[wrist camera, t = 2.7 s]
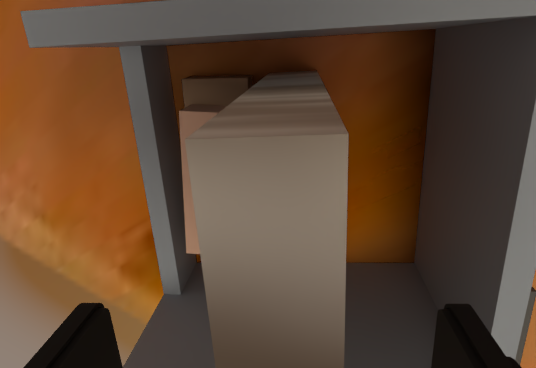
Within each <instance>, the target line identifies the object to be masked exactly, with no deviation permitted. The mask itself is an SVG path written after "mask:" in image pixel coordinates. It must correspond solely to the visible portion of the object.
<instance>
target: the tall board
mask: <svg viewBox="0 0 536 368" xmlns="http://www.w3.org/2000/svg"><path fill="white" fill-rule="evenodd" d="M348 137H349V134H348V132H347V130H346V128H345V126H344V124H343V122H342V120H341V118H340V116H339V114H338V112H337V110H336V108H335V106H334V104H333V102H332V100H331V98H330V96H329V94H328V92H327V90H326V88H325V86H324V84H323V82H322V80H321V78H320V76H319V74H318V72H317V70H315V71H296V72H277V73H269V74H267V75H266V76H265V77H264V78H262V79H261V80H260V81H258V82H257V83H256V84H255V85H253V86H252V87H251V88H250V89H248V90H247V91H246V92H244V93H243V94H242V95H241V96H239V97H238V98H237V99H236V100H234V101H233V102H232V103H230V104H229V105H228V106H227V107H225V108H224V109H223V110H222V111H220V112H219V113H218V114H217V115H215V116H214V117H213V118H211V119H210V120H209V121H208V122H206V123H205V124H204V125H203V126H201V127H200V128H199V129H197V130H196V131H195V132H194V133H192V134H191V135H190V136H189V137H187V138H186V139H185V146H186V153H187V160H188V168H189V175H190V182H191V190H192V197H193V204H194V212H195V219H196V227H197V234H198V241H199V249H200V256H201V263H202V271H203V278H204V286H205V293H206V300H207V308H208V315H209V322H210V330H211V337H212V344H213V352H214V359H215V367H216V368H344V343H345V291H346V240H347V188H348Z"/></svg>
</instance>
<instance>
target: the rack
mask: <svg viewBox="0 0 536 368" xmlns="http://www.w3.org/2000/svg"><path fill="white" fill-rule="evenodd" d="M20 12H21V16H22V20H23V24H24V28H25V32H26V36H27V39H28V43H29V47H30V48H41V47H119V50H120V55H121V60H122V66H123V71H124V77H125V82H126V88H127V93H128V99H129V104H130V110H131V115H132V121H133V126H134V132H135V137H136V143H137V148H138V154H139V159H140V165H141V170H142V176H143V181H144V187H145V192H146V198H147V203H148V209H149V214H150V220H151V225H152V231H153V236H154V242H155V247H156V253H157V258H158V264H159V269H160V275H161V280H162V286H163V291H164V295H163V297H162V299H161V301H160V302H159V304H158V306H157V308H156V310H155V311H154V313H153V315H152V317H151V318H150V320H149V322H148V324H147V326H146V327H145V329H144V331H143V333H142V334H141V336H140V338H139V340H138V342H137V343H136V345H135V347H134V349H133V350H132V352H131V354H130V356H129V358H128V359H127V361H126V363H125V365H124V366H123V368H216V367H215V359H214V352H213V344H212V337H211V330H210V322H209V315H208V308H207V300H206V293H205V286H204V278H203V271H202V263H197V261H196V254H190V253H186V236H185V217H184V198H183V179H182V159H181V147H180V140H179V133H178V126H177V119H176V112H175V105H174V98H173V91H172V84H171V76H170V69H169V62H168V55H167V48H166V46H167V45H184V44H200V43H216V42H232V41H248V40H265V39H281V38H297V37H313V36H330V35H346V34H362V33H378V32H394V31H411V30H427V29H436V33H435V44H434V55H433V65H432V76H431V87H430V98H429V109H428V119H427V130H426V141H425V152H424V163H423V173H422V184H421V195H420V206H419V217H418V228H417V238H416V249H415V260H414V263H346V291H345V343H344V368H431V364H432V355H433V347H434V338H435V329H436V321H437V313H438V310H439V309H444V306H445V304H470V305H471V306H472V308H473V309H474V310H475V312H476V313H477V315H478V316H479V318H480V319H481V321H482V322H483V324H484V325H485V326H486V328H487V329H488V331H489V332H490V334H491V335H492V337H493V338H494V339H495V341H496V342H497V344H498V345H499V347H500V348H501V350H502V351H503V353H504V354H505V355H506V357H511V358H513V359H516V354H517V350H518V345H519V341H520V336H521V332H522V327H523V323H524V318H525V314H526V309H527V305H528V301H529V296H530V292H531V287H532V283H533V278H534V274H535V269H536V0H166V1H153V2H140V3H126V4H113V5H99V6H86V7H73V8H59V9H46V10H33V11H20Z"/></svg>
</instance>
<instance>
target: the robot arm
mask: <svg viewBox="0 0 536 368" xmlns="http://www.w3.org/2000/svg"><path fill="white" fill-rule="evenodd" d="M24 368H123V367H122V363H121V359H120V354H119V350H118V346H117V341H116V338H115V333H114V329H113V324H112V321H111V316H110V312H109V310H108V309H107V308H104V305H103V304H102V303H81V304H79V305H78V306H77V307H76V308H75V309H74V310H73V311H72V313H71V314H70V315H69V316H68V317H67V319H66V320H65V321H64V322H63V323H62V324H61V325H60V327H59V328H58V329H57V330H56V331H55V332H54V333H53V334H52V336H51V337H50V338H49V339H48V340H47V341H46V343H45V344H44V345H43V346H42V347H41V348H40V349H39V351H38V352H37V353H36V354H35V355H34V356H33V358H32V359H31V360H30V361H29V362H28V363H27V364H26V366H25V367H24ZM431 368H521V366H520V365H519V364H518V363H517V362H516V360H515V359H513V358H511V357H506V355H505V354H504V353H503V351H502V350H501V348H500V347H499V345H498V344H497V342H496V341H495V339H494V338H493V337H492V335H491V334H490V332H489V331H488V329H487V328H486V326H485V325H484V324H483V322H482V321H481V319H480V318H479V316H478V315H477V313H476V312H475V310H474V309H473V308H472V306H471V305H470V304H445V306H444V309H439V310H438V313H437V321H436V329H435V338H434V347H433V355H432V364H431Z"/></svg>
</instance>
